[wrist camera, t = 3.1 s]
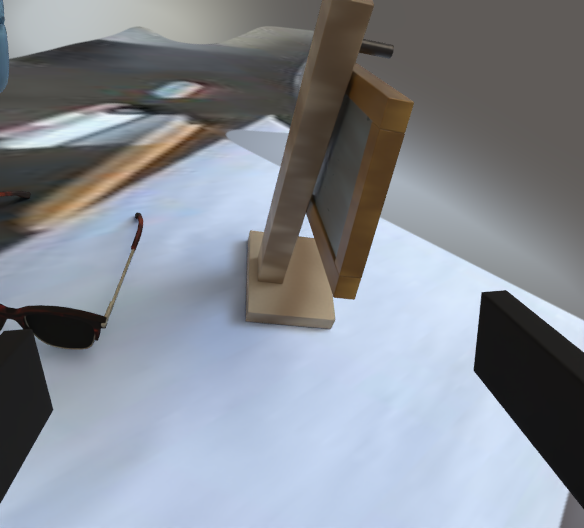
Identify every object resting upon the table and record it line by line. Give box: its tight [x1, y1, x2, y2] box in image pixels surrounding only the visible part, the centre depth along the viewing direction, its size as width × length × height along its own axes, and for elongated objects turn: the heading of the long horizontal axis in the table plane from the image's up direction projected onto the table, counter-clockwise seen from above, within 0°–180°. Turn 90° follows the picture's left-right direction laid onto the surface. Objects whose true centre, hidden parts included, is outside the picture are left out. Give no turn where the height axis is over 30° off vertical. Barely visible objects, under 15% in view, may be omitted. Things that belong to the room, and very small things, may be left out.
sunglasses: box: [0, 191, 143, 349], centre depth 42 cm, size 14×16×5 cm
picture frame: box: [306, 62, 414, 300], centre depth 34 cm, size 1×16×12 cm, turn 2°
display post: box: [246, 0, 394, 329], centre depth 38 cm, size 8×10×27 cm
